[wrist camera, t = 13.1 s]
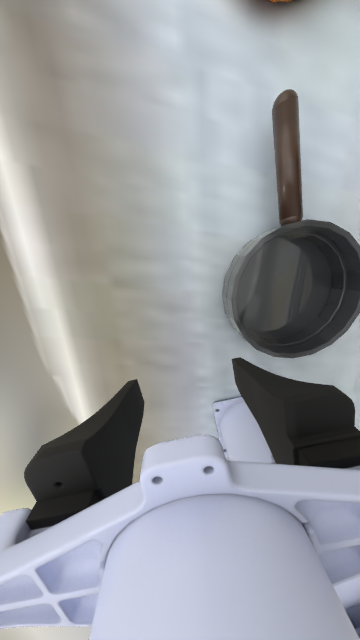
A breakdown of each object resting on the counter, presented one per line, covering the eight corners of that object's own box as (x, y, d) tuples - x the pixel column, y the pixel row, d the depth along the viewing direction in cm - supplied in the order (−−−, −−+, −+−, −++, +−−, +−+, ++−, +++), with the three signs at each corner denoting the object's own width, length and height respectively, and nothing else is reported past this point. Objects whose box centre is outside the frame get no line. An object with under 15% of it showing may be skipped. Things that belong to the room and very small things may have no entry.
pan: (334, 330, 24) (365, 343, 20) (230, 352, 24) (241, 369, 20) (334, 216, 20) (372, 204, 16) (213, 243, 21) (222, 238, 17)
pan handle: (295, 228, 18) (307, 224, 17) (276, 232, 18) (287, 228, 17) (288, 99, 16) (303, 79, 14) (266, 105, 16) (278, 85, 14)
